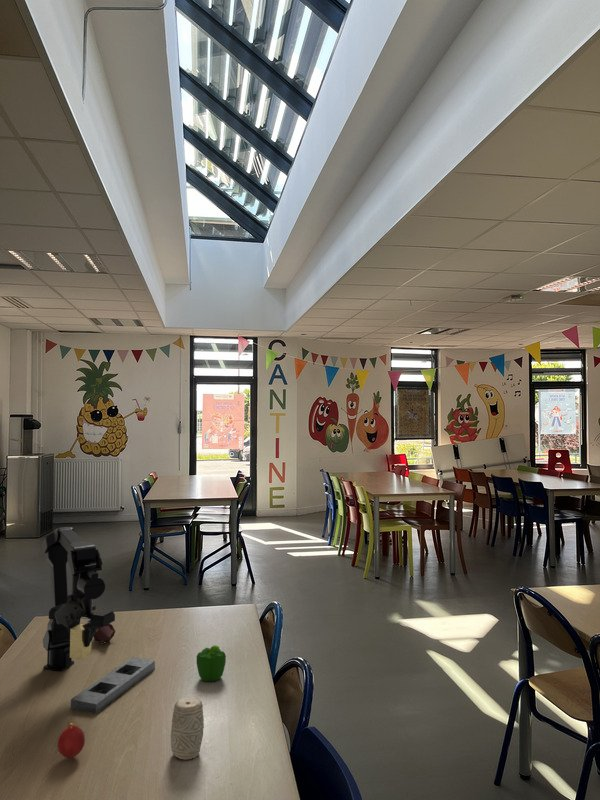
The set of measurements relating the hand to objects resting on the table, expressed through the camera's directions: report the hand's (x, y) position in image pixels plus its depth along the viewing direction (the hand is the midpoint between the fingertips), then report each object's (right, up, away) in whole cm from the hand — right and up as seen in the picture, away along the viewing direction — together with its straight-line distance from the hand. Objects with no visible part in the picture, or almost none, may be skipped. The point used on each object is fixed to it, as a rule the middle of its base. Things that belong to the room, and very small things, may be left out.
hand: (80, 645), depth 161 cm
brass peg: (0, -3, 0) cm, 3 cm away
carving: (+36, -13, -29) cm, 48 cm away
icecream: (-6, -14, +34) cm, 38 cm away
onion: (+10, -12, -32) cm, 35 cm away
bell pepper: (+35, -14, +9) cm, 39 cm away
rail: (+9, -13, +2) cm, 16 cm away
